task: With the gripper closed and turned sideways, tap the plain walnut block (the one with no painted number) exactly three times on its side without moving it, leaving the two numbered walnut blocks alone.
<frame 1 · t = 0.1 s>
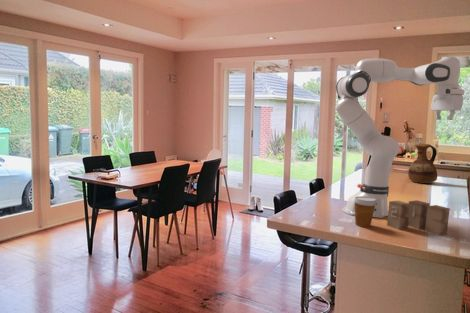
hand: (443, 120, 183), 48 cm above the table, tool pointing down, fingers open, 8 cm apart
disposable coffee cup: (362, 225, 165), on the table
ceramic pitcher: (421, 182, 289), on the table
plain walnut block: (435, 232, 160), on the table
walnut block numbered 1: (416, 226, 167), on the table
walnut block numbered 2: (397, 226, 165), on the table
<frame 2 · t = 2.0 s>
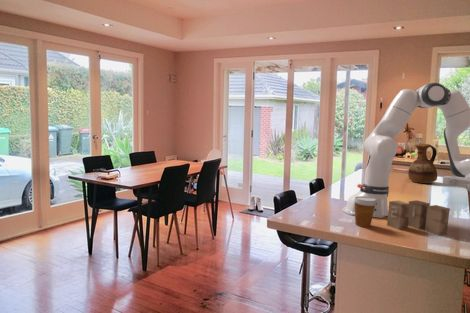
hand: (457, 184, 163), 20 cm above the table, tool horizontal, fingers open, 6 cm apart
nothing on the table moved.
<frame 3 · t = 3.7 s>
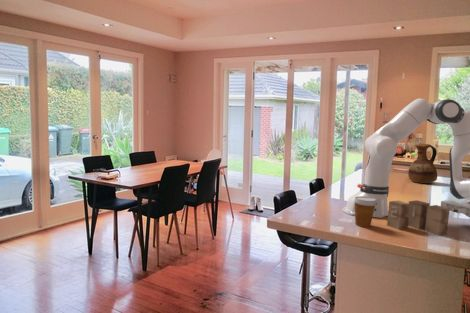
hand: (455, 210, 165), 8 cm above the table, tool horizontal, fingers closed
nothing on the table moved.
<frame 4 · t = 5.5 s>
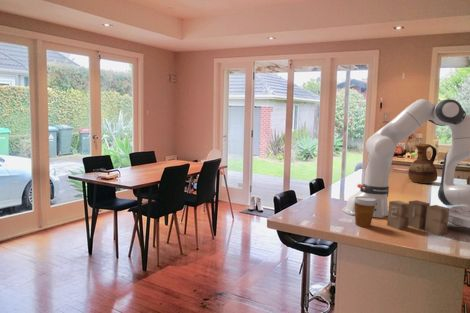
hand: (440, 219, 160), 6 cm above the table, tool horizontal, fingers closed, pressing on plain walnut block
plain walnut block: (435, 232, 159), on the table, touching gripper
everything else where it was.
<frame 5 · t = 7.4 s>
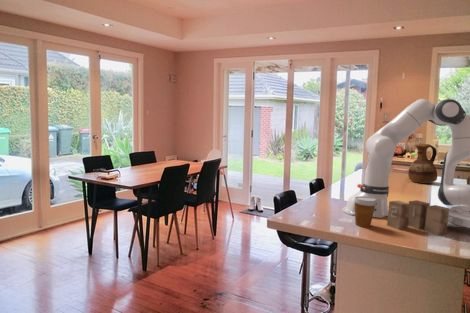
hand: (440, 219, 160), 6 cm above the table, tool horizontal, fingers closed, pressing on plain walnut block
plain walnut block: (435, 232, 159), on the table, touching gripper
everything else where it was.
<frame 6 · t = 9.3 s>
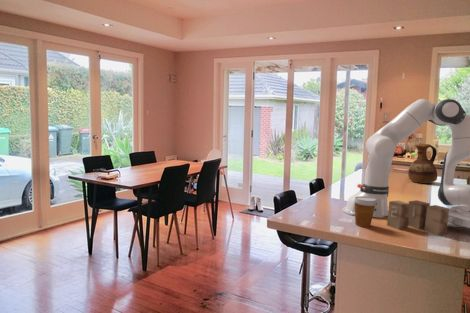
hand: (440, 219, 160), 5 cm above the table, tool horizontal, fingers closed, pressing on plain walnut block
plain walnut block: (435, 232, 159), on the table, touching gripper
everything else where it was.
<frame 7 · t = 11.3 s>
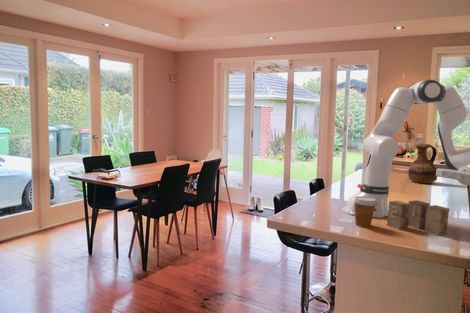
hand: (450, 176, 167), 23 cm above the table, tool horizontal, fingers closed
plain walnut block: (435, 232, 159), on the table
everything else where it was.
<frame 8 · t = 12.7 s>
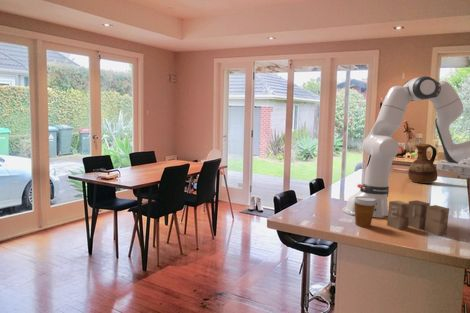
hand: (450, 169, 168), 26 cm above the table, tool horizontal, fingers closed
nothing on the table moved.
at the end: plain walnut block moved 0.4 cm from its start; plain walnut block tilted 0°; walnut block numbered 1 moved 0.0 cm from its start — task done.
